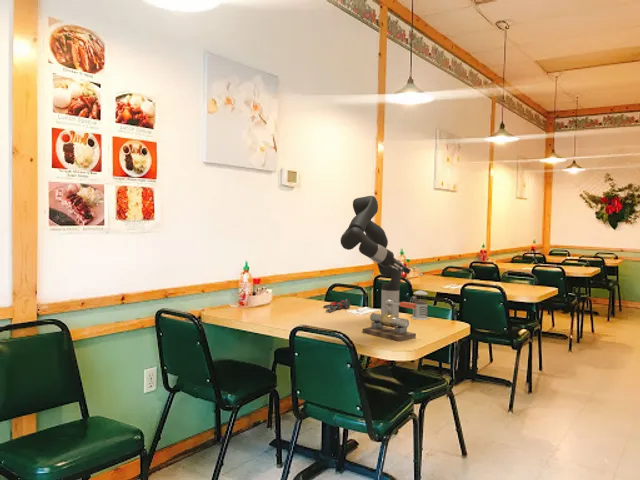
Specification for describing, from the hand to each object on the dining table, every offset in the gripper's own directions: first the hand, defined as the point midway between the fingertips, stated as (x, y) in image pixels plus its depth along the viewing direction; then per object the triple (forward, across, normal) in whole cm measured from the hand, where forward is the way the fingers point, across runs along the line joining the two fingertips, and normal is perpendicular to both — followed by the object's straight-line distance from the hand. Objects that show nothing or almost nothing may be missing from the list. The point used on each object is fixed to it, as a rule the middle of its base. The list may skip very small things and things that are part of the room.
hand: (408, 271), depth 233 cm
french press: (+47, +34, +22) cm, 62 cm away
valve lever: (+5, -2, +15) cm, 16 cm away
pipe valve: (+9, 0, +28) cm, 30 cm away
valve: (+19, +69, +47) cm, 86 cm away
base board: (+10, 0, +30) cm, 32 cm away
